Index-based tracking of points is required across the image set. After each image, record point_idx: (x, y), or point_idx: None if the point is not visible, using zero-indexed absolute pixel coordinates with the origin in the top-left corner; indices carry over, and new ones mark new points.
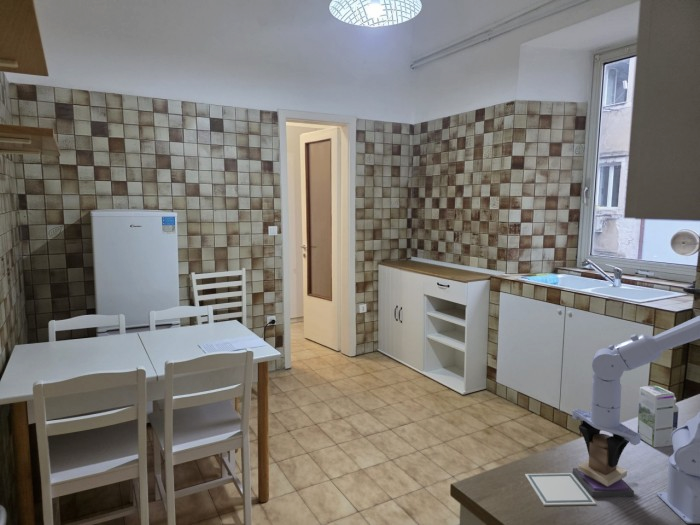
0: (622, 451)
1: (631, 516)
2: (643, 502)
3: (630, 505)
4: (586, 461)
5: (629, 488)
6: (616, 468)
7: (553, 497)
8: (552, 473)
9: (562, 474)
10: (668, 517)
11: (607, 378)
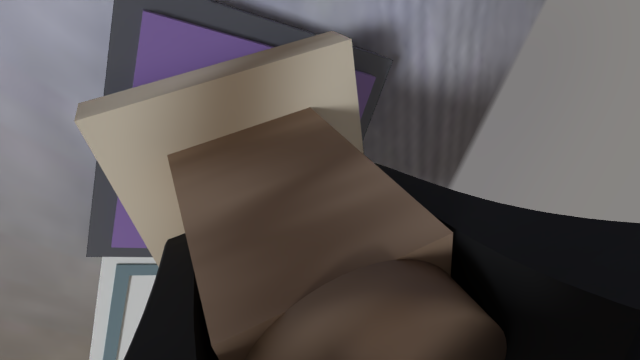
0: (489, 203)
1: (445, 169)
2: (423, 45)
3: (408, 124)
4: (153, 251)
5: (366, 64)
6: (300, 95)
7: None
8: (92, 341)
9: (116, 304)
10: (521, 27)
11: None
